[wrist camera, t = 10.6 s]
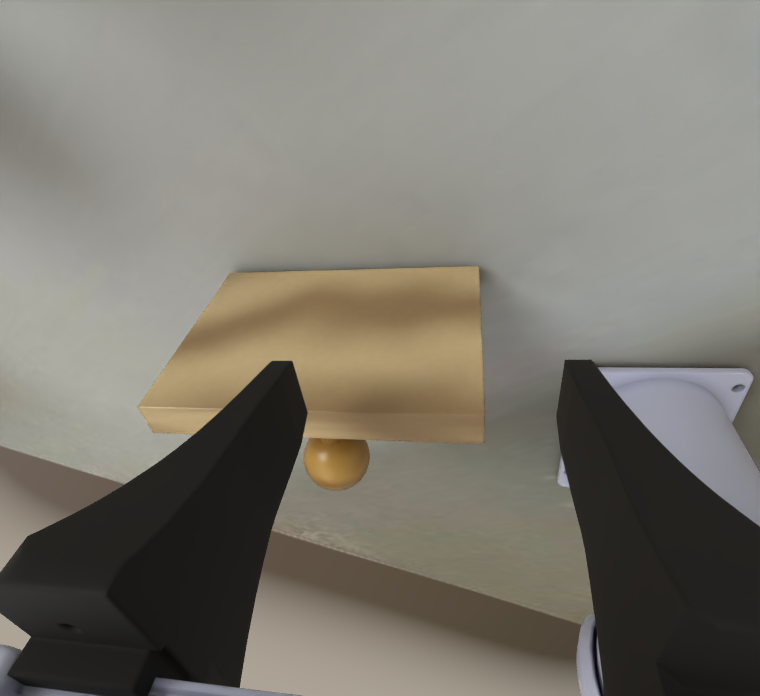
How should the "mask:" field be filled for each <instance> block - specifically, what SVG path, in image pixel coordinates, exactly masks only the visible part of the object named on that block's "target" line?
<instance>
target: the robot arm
mask: <svg viewBox="0 0 760 696" xmlns="http://www.w3.org/2000/svg"><path fill="white" fill-rule="evenodd" d="M753 378H754V377H753V375H752V374H751V372H750V371H749V370H747V369H744V368H626V367H597V366H596V365H595V363H594V362H593V361H592V360H565V364H564V371H563V377H562V384H561V390H560V397H559V404H558V410H557V425H558V434H559V442H560V449H561V459H560V464H559V470H558V475H557V480H558V484H559V485H561V486H564V487H570V490H571V494H572V498H573V502H574V506H575V510H576V514H577V517H578V521H579V525H580V529H581V533H582V538H583V542H584V547H585V553H586V559H587V566H588V572H589V579H590V586H591V593H592V600H593V607H594V612H593V613H592V614H590V615H588V616H587V617H586V619H585V620H584V621H583V624H582V626H581V629H580V635H579V643H578V648H577V673H578V680H579V686H580V691H581V695H582V696H760V472H759V470H758V469H757V467H756V465H755V463H754V462H753V460H752V458H751V456H750V454H749V453H748V451H747V449H746V447H745V446H744V444H743V442H742V440H741V439H740V437H739V435H738V433H737V432H736V430H735V428H734V426H733V425H732V422H733V420H734V418H735V416H736V414H737V412H738V410H739V408H740V406H741V404H742V402H743V400H744V398H745V396H746V394H747V392H748V390H749V388H750V386H751V384H752V382H753ZM736 385H738V386H736ZM734 386H736V387H734ZM307 414H308V412H307V408H306V405H305V401H304V398H303V395H302V391H301V388H300V385H299V381H298V378H297V374H296V371H295V368H294V364H293V361H271V362H270V363H269V364H268V365H267V366H266V367H265V368H264V369H263V370H262V371H261V372H260V373H259V374H258V375H257V376H256V377H255V378H254V379H253V380H252V381H251V382H250V383H249V384H248V385H247V386H246V387H245V388H244V389H243V390H242V391H241V392H240V393H239V394H238V395H237V396H236V397H235V398H233V399H232V400H231V401H230V402H229V403H228V404H227V405H226V406H225V407H224V408H223V409H222V410H221V411H220V412H219V413H218V414H217V415H216V416H214V417H213V418H212V419H211V420H210V421H209V422H208V423H207V424H205V425H204V426H203V427H202V428H201V429H200V430H199V431H198V432H196V433H195V434H194V435H193V436H192V437H191V438H189V439H188V440H187V441H186V442H184V443H183V444H182V445H181V446H179V447H178V448H177V449H175V450H174V451H173V452H171V453H170V454H169V455H168V456H166V457H165V458H164V459H162V460H161V461H159V462H158V463H157V464H155V465H154V466H152V467H151V468H149V469H148V470H146V471H145V472H143V473H142V474H140V475H139V476H137V477H136V478H134V479H133V480H131V481H130V482H128V483H126V484H125V485H123V486H122V487H120V488H119V489H117V490H115V491H113V492H112V493H110V494H108V495H107V496H105V497H103V498H102V499H100V500H98V501H97V502H94V503H93V504H91V505H89V506H87V507H85V508H84V509H82V510H80V511H78V512H76V513H74V514H72V515H71V516H68V517H66V518H64V519H62V520H60V521H58V522H56V523H54V524H52V525H50V526H48V527H46V528H44V529H42V530H40V531H38V532H36V533H34V534H31V535H29V536H27V538H26V539H25V540H24V542H23V543H22V544H21V546H20V547H19V548H18V550H17V551H16V552H15V554H14V555H13V556H12V558H11V559H10V560H9V562H8V563H7V564H6V566H5V567H4V568H3V570H2V571H1V572H0V613H1V614H2V615H4V616H5V617H6V618H8V619H9V620H10V621H12V622H13V623H14V624H15V625H17V626H18V627H19V628H21V629H22V630H23V631H25V632H26V633H27V634H29V635H30V636H31V638H30V639H29V641H28V643H27V644H26V646H25V647H24V649H23V650H20V649H17V648H14V647H11V646H7V645H0V696H299V695H292V694H284V693H276V692H268V691H260V690H252V689H244V688H240V682H241V675H242V669H243V663H244V657H245V651H246V645H247V639H248V634H249V629H250V623H251V618H252V613H253V608H254V603H255V598H256V593H257V589H258V584H259V580H260V575H261V570H262V566H263V561H264V557H265V554H266V549H267V545H268V541H269V537H270V533H271V529H272V526H273V523H274V520H275V517H276V514H277V511H278V508H279V505H280V503H281V500H282V497H283V494H284V491H285V489H286V486H287V483H288V480H289V478H290V475H291V472H292V469H293V466H294V464H295V461H296V458H297V455H298V452H299V449H300V446H301V443H302V438H303V434H304V429H305V424H306V419H307Z"/></svg>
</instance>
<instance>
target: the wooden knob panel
mask: <svg viewBox="0 0 760 696" xmlns="http://www.w3.org/2000/svg"><path fill="white" fill-rule="evenodd" d="M271 361H293V364H294V368H295V371H296V374H297V378H298V381H299V385H300V388H301V391H302V395H303V398H304V401H305V405H306V408H307V412H308V414H307V419H306V424H305V429H304V434H303V438H310V439H309V440H308V442H307V444H306V447H305V450H304V465H305V469H306V471H307V473H308V475H309V477H310V478H311V479H312V480H313V481H314V482H315V483H316V484H317V485H318V486H320V487H322V488H324V489H327V490H333V491H340V490H345V489H348V488H350V487H352V486H354V485H355V484H357V483H358V482H359V481H360V480H361V479H362V477H363V476H364V475H365V473H366V471H367V468H368V465H369V459H370V454H369V448H368V445H367V442H366V440H385V441H414V442H444V443H473V444H483V443H484V430H485V401H484V376H483V351H482V326H481V301H480V276H479V266H463V267H427V268H391V269H355V270H320V271H284V272H248V273H230V274H229V275H228V277H227V278H226V280H225V281H224V283H223V284H222V286H221V287H220V288H219V290H218V291H217V293H216V294H215V296H214V297H213V298H212V300H211V301H210V303H209V304H208V306H207V307H206V309H205V310H204V311H203V313H202V314H201V316H200V317H199V319H198V320H197V322H196V323H195V324H194V326H193V327H192V329H191V330H190V332H189V333H188V335H187V336H186V337H185V339H184V340H183V342H182V343H181V345H180V346H179V348H178V349H177V350H176V352H175V353H174V355H173V356H172V358H171V359H170V361H169V362H168V363H167V365H166V366H165V368H164V369H163V371H162V372H161V374H160V375H159V376H158V378H157V379H156V381H155V382H154V384H153V385H152V386H151V388H150V389H149V391H148V392H147V394H146V395H145V397H144V398H143V399H142V401H141V402H140V404H139V405H138V409H139V411H140V412H141V414H142V416H143V417H144V419H145V421H146V422H147V424H148V425H149V427H150V429H151V430H152V432H153V433H179V434H195V433H196V432H198V431H199V430H200V429H201V428H202V427H203V426H204V425H205V424H207V423H208V422H209V421H210V420H211V419H212V418H213V417H214V416H216V415H217V414H218V413H219V412H220V411H221V410H222V409H223V408H224V407H225V406H226V405H227V404H228V403H229V402H230V401H231V400H232V399H233V398H235V397H236V396H237V395H238V394H239V393H240V392H241V391H242V390H243V389H244V388H245V387H246V386H247V385H248V384H249V383H250V382H251V381H252V380H253V379H254V378H255V377H256V376H257V375H258V374H259V373H260V372H261V371H262V370H263V369H264V368H265V367H266V366H267V365H268V364H269V363H270V362H271Z"/></svg>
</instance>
